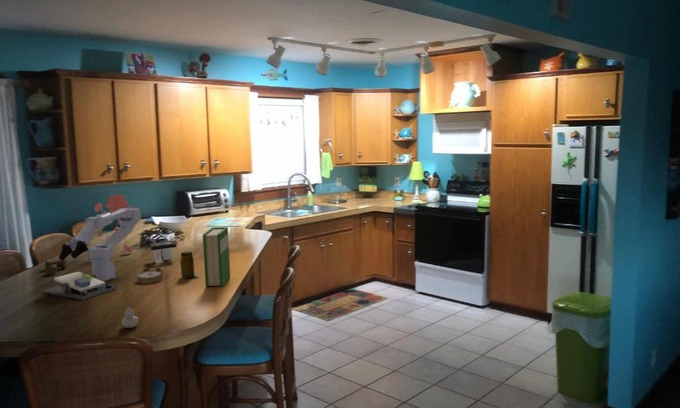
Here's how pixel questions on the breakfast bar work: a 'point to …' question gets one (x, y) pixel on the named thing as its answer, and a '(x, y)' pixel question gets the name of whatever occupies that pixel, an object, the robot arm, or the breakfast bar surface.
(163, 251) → the black-topped pedestal
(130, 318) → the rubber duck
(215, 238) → the hardback book
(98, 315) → the breakfast bar surface
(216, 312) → the breakfast bar surface
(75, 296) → the base
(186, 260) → the condiment
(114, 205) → the figurine
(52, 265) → the kendama
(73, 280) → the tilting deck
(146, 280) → the alarm clock
